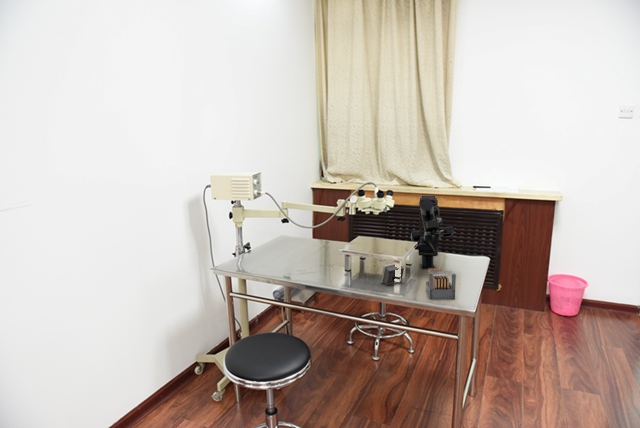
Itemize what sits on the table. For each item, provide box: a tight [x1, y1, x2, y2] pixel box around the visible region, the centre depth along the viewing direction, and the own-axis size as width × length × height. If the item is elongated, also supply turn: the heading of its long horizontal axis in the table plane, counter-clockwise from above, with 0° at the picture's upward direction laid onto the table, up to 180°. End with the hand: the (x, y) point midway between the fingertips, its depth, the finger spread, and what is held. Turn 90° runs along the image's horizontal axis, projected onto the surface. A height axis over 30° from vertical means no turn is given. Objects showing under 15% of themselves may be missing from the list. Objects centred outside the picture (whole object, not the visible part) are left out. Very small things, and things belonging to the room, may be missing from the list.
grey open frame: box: [425, 271, 457, 300], centre depth 165 cm, size 9×10×10 cm
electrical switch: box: [380, 262, 405, 286], centre depth 180 cm, size 9×5×9 cm, turn 113°
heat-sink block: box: [427, 267, 450, 289], centre depth 170 cm, size 14×6×8 cm, turn 176°
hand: (435, 251), depth 182 cm, fingers closed
